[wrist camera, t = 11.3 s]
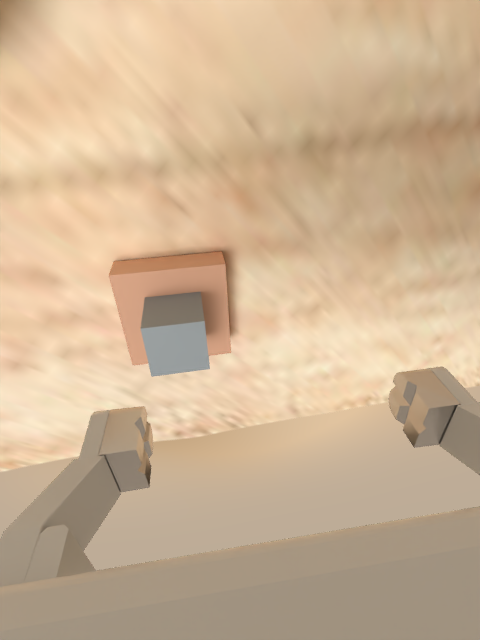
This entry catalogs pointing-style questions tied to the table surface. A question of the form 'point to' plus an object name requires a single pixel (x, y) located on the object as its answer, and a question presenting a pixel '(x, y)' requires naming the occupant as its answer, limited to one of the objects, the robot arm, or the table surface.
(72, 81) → the table surface
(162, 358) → the cube
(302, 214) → the table surface
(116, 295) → the pedestal
